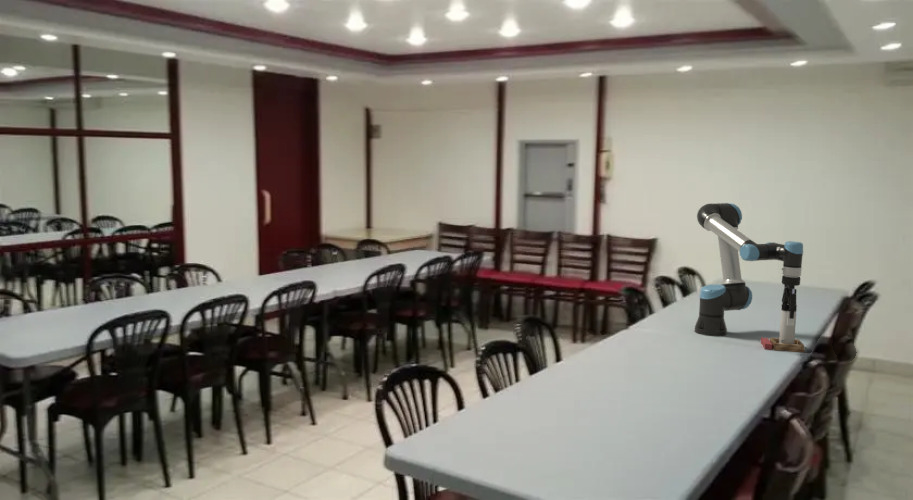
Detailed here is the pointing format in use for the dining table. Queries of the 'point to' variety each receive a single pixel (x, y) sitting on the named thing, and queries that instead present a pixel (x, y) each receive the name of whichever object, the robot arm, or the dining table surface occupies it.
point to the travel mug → (786, 327)
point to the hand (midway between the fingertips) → (787, 321)
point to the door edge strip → (766, 343)
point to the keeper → (787, 346)
